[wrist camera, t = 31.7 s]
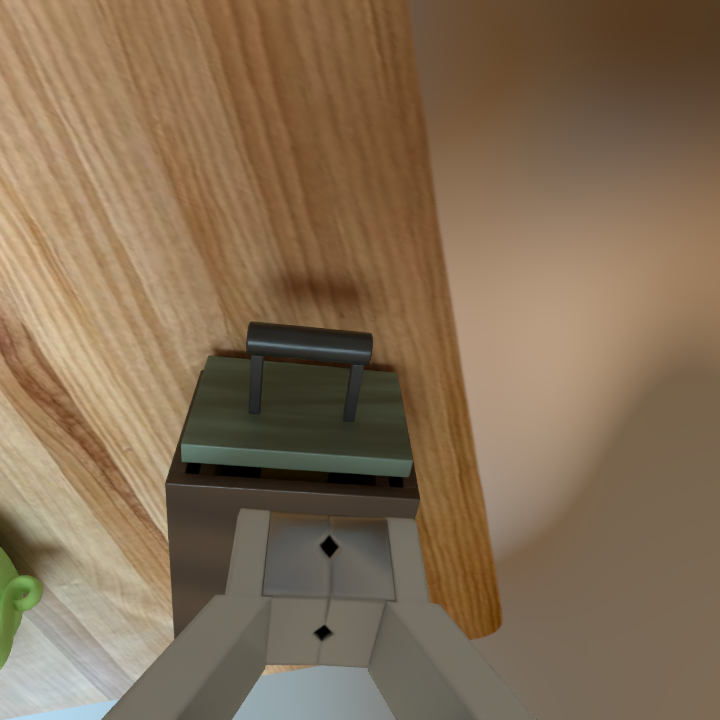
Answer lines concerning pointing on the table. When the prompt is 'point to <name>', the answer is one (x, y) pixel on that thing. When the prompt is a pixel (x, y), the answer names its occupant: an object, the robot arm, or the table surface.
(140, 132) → the table surface
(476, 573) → the table surface
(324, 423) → the drawer
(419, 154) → the table surface
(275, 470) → the sponge
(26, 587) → the teapot
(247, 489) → the cabinet
